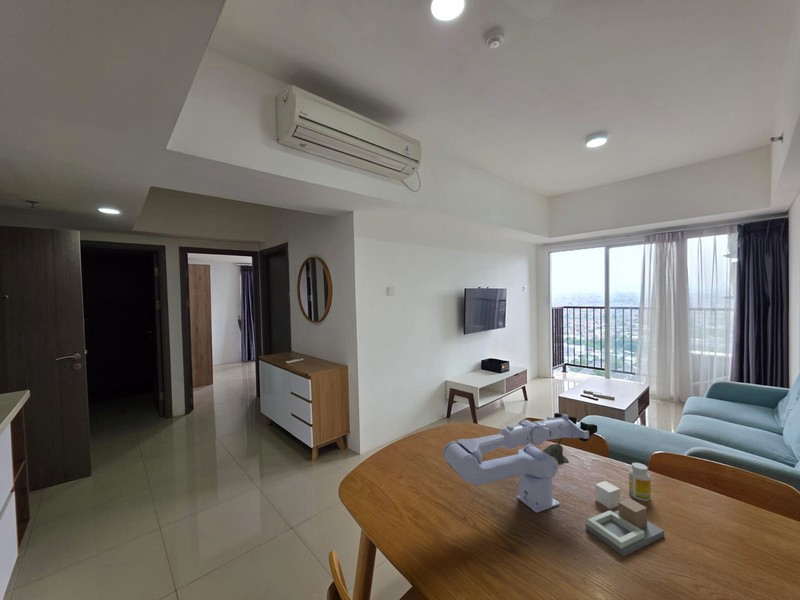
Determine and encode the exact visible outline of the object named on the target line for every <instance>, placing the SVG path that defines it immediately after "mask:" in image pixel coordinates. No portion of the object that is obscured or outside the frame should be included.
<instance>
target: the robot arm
mask: <svg viewBox="0 0 800 600" xmlns="http://www.w3.org/2000/svg"><path fill="white" fill-rule="evenodd" d="M579 422H580V425H579V426H578V425H577V417H574V416H568V414H566V413H558V412H555V413H554V416H553V417H552V416H547V417H546V419H543V420H542V419H541V420H536V421H531V420H528V419H524V418H523V419H521V420H519V421H518V423H517V424H515V425H511V424H508V425H507V426H506V427H504V428H501V430H500V431H499V433H497V434H492V435H485V436H480V437H474V438H459V439H457V440H456V441H455V440H453V441H450V442H448V443H447V444H445V446H444V447H443V449H442V450H443V451H442V457H443V459H444V461H445V463H447V464H448V466H449V467H450V468H451V469H452V470H453V471H454V472H455V473H456V474H458V476H459V477H460V478H461V479H462V481H464V482H465V483H467V482H468V483H469V484H472V485H474V486H479V485H484V484H489V483H493V482H498V481H502V480H505V479H509V478H514V477H519V479H518V493H519V494H518V495H517V497H516V498H517V499H518V500H520V501H521V502H522V503H523V504H524V505H526V506H527V507H528V508H530V509H531V510H532V511H533V512H534V513H540V512H543V511H545V510H548V509H551V508H553V507H556V506H559V505H560V502H559V501H558V500H556V498H555V497H554V498H553V478H554V477H555V475H556V474H557V472H558V470H559V463H558V462H557V460H556V459H555V458H554V457H552V456H550V455H548V454H546V453H544V452H543V450H541V449H539V448H537V447H539V446H541V445H542V444H544V442H546V441H549V440H550V441H551V440H556V439H557V440H559V439H560V438H561V439H562V438H563V439H564V438H567V439H568V438H569V439H570V438H571V439H572V438H573V439H574V438H579V440H580V441H581V442H588V441H589V439H590V438H591V437H592V436H593V435H594V434H596V433H598V425H596V424H593V423H587V422H583V421H579ZM522 446H524V447H523V448H520V449H518V450H517V452H516V454H513V455H507V456H504V457H498V458H493V459H489V460H484V461H483V457H484V454H486V453H490V452H492V451H495V450H497V449H500V448H502V447H504V448H505V449H507V450H512V449H515V448H518V447H522ZM536 446H537V447H536Z"/></svg>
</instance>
